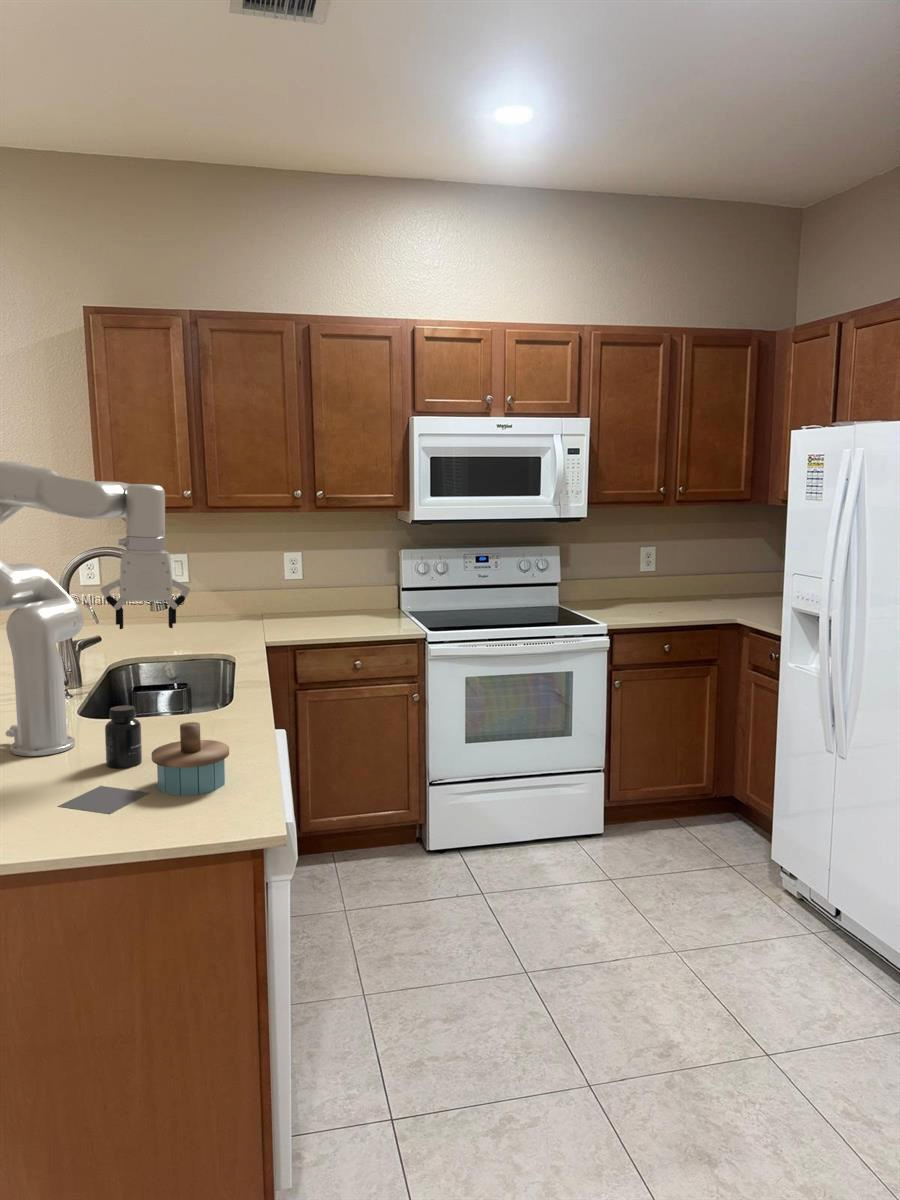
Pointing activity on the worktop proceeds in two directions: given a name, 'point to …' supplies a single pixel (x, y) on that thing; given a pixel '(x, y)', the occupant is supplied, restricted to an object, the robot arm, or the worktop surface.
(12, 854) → the worktop surface
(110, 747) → the supplement bottle
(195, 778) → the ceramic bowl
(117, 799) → the rubber mat
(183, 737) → the walnut lid
